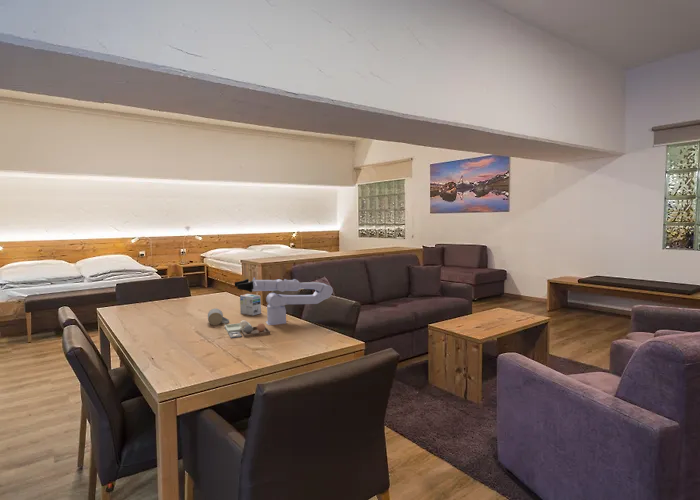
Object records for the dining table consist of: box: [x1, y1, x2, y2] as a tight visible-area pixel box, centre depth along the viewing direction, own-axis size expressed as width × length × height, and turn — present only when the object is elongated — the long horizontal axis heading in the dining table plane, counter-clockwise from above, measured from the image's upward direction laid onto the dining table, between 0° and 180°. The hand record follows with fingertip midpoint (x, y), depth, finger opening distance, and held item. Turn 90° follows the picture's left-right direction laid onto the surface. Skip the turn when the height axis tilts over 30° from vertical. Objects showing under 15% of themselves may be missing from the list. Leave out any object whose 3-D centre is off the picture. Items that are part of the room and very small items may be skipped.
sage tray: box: [224, 321, 252, 334], centre depth 205 cm, size 12×12×2 cm
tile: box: [227, 332, 243, 339], centre depth 194 cm, size 5×8×1 cm, turn 24°
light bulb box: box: [239, 293, 262, 316], centre depth 239 cm, size 11×7×11 cm, turn 58°
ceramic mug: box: [207, 307, 230, 326], centre depth 216 cm, size 11×8×8 cm
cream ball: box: [239, 319, 248, 328], centre depth 206 cm, size 4×4×4 cm
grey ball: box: [244, 325, 254, 333], centre depth 197 cm, size 4×4×4 cm
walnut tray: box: [240, 325, 271, 338], centre depth 198 cm, size 12×12×2 cm
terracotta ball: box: [257, 323, 266, 332], centre depth 199 cm, size 4×4×4 cm
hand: (236, 285), depth 207 cm, fingers open, 7 cm apart
